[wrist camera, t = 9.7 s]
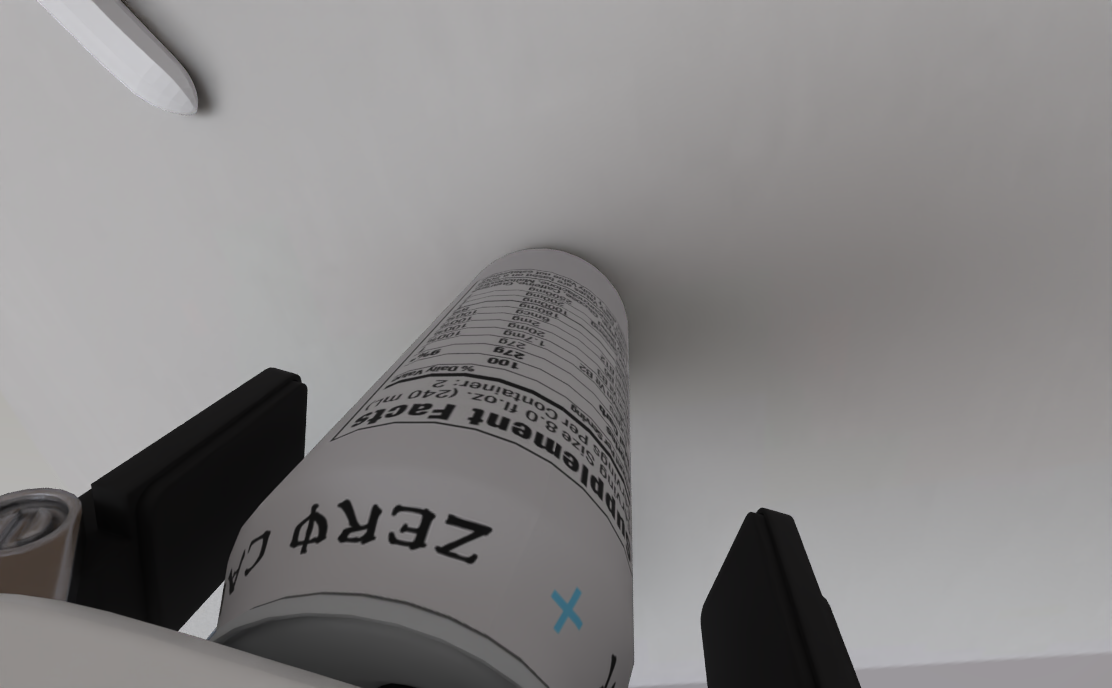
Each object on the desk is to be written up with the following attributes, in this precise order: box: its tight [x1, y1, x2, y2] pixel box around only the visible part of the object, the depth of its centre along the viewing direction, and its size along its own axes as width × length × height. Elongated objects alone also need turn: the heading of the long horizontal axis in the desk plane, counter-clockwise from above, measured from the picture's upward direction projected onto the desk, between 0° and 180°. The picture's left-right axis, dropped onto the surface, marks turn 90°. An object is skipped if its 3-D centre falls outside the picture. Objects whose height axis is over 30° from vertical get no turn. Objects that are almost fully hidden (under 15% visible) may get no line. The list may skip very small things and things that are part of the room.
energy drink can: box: [208, 248, 634, 688], centre depth 13 cm, size 6×6×15 cm
